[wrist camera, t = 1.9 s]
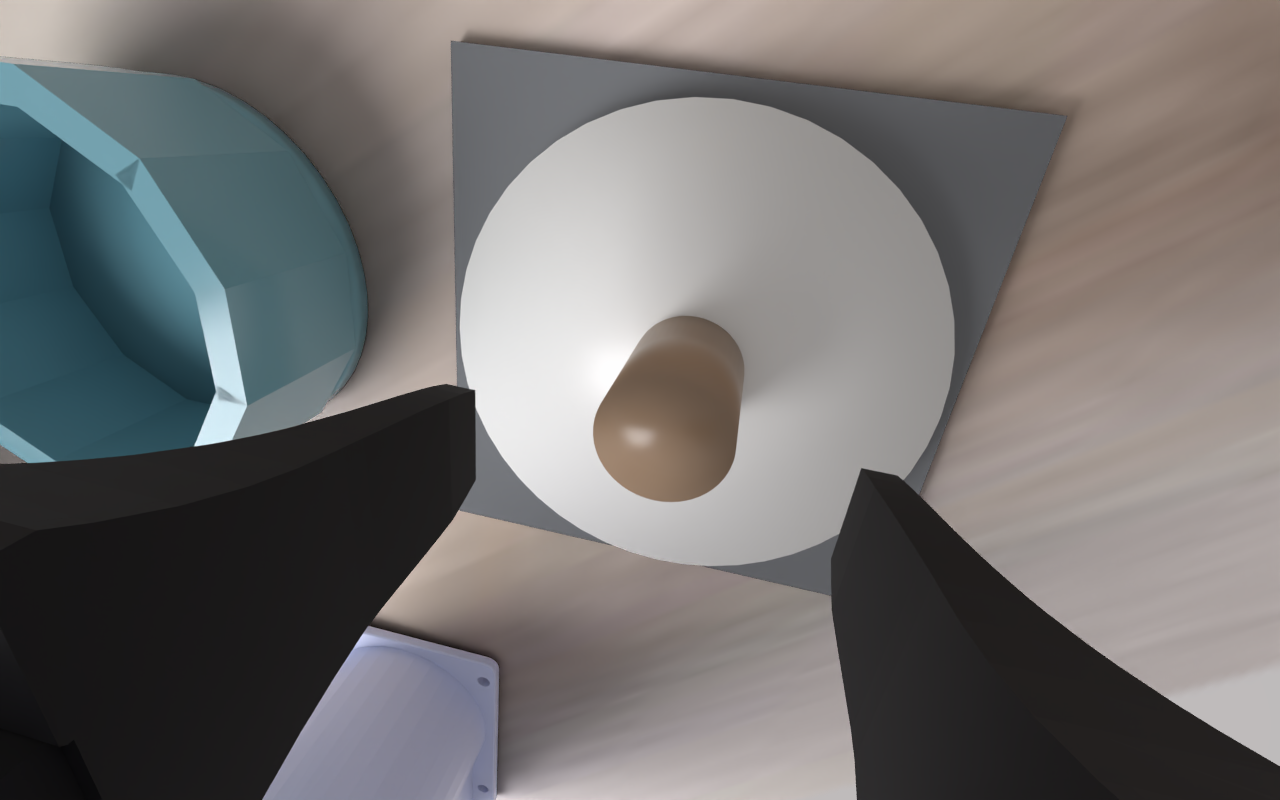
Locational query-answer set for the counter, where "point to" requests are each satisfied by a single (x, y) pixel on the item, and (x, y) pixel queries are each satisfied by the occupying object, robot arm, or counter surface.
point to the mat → (870, 122)
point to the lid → (705, 330)
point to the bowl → (161, 267)
